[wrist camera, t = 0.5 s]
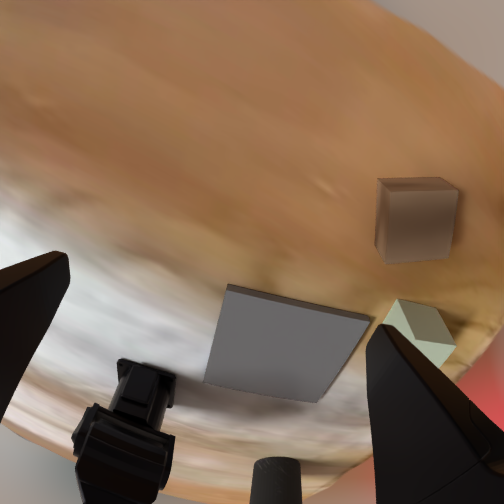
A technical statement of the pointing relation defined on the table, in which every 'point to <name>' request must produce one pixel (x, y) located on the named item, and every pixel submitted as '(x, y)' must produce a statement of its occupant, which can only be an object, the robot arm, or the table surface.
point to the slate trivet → (280, 345)
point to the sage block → (422, 329)
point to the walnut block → (414, 219)
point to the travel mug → (276, 481)
